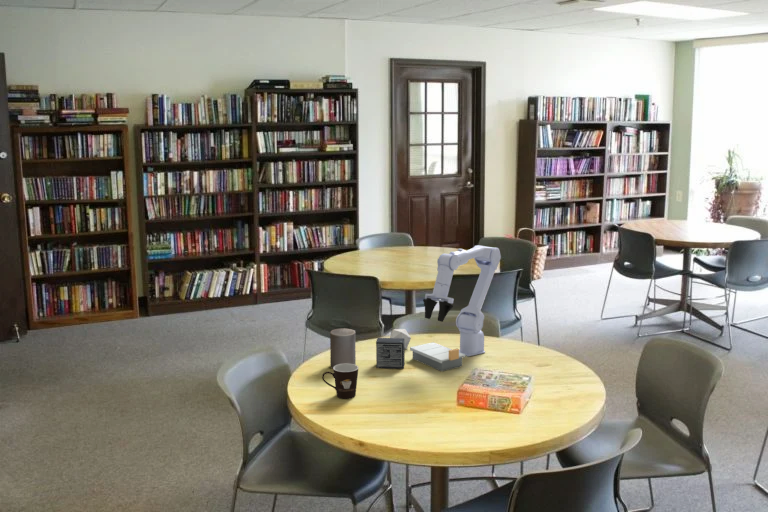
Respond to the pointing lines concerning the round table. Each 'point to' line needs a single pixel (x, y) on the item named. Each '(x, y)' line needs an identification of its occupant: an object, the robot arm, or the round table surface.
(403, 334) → the die
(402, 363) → the small box
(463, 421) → the round table surface
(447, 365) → the tub
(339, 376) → the coffee mug
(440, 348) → the lid
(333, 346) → the pillar candle
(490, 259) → the robot arm
